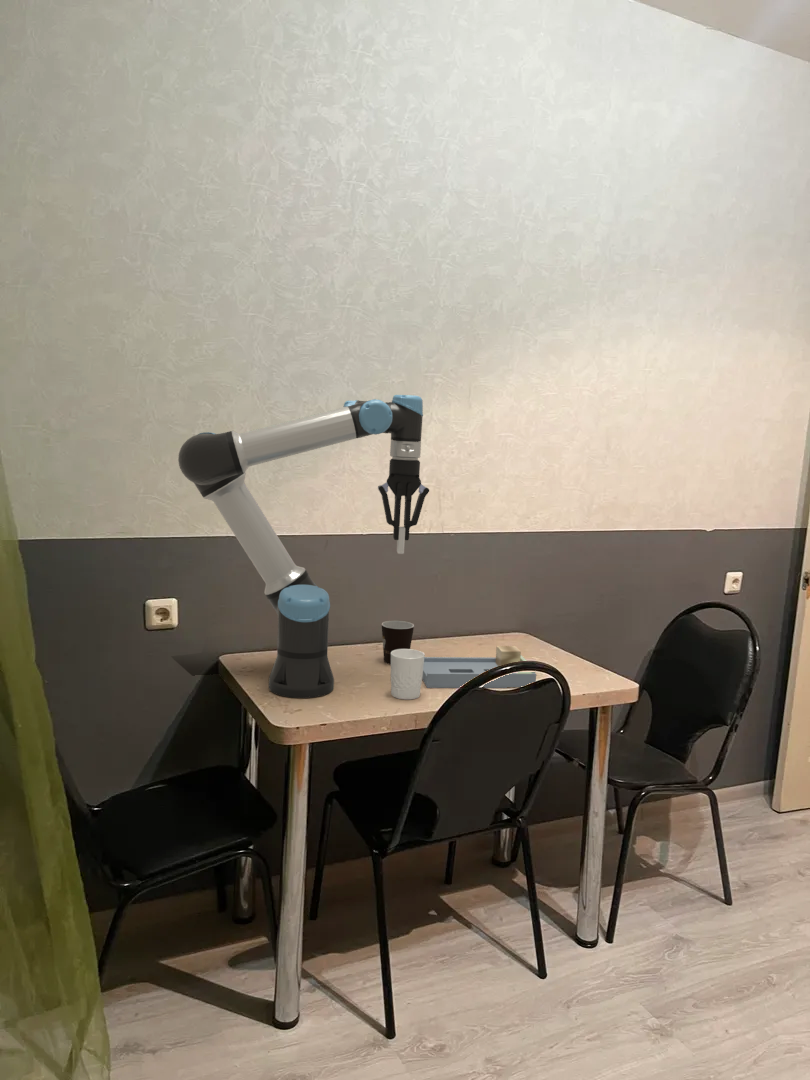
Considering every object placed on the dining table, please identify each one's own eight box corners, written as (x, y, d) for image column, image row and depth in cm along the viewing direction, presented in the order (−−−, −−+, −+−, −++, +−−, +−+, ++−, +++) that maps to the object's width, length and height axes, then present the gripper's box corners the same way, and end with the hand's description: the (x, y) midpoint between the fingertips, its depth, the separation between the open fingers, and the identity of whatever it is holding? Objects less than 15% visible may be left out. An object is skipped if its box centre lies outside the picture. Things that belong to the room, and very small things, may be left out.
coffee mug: (408, 667, 210) (410, 630, 208) (376, 664, 211) (378, 627, 210) (417, 655, 221) (418, 620, 219) (386, 652, 223) (388, 617, 221)
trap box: (427, 687, 194) (428, 669, 194) (417, 670, 208) (418, 653, 207) (535, 687, 198) (536, 670, 198) (518, 670, 212) (520, 653, 211)
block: (500, 668, 204) (501, 651, 204) (495, 662, 209) (496, 645, 209) (519, 668, 205) (520, 651, 204) (514, 662, 210) (515, 646, 209)
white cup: (410, 687, 194) (412, 647, 192) (429, 697, 187) (431, 656, 186) (382, 692, 190) (384, 650, 188) (400, 702, 183) (402, 660, 182)
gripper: (380, 458, 195) (376, 554, 198) (433, 460, 197) (428, 556, 200) (377, 456, 202) (372, 549, 205) (428, 459, 204) (423, 551, 207)
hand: (400, 552), depth 203 cm, fingers closed
